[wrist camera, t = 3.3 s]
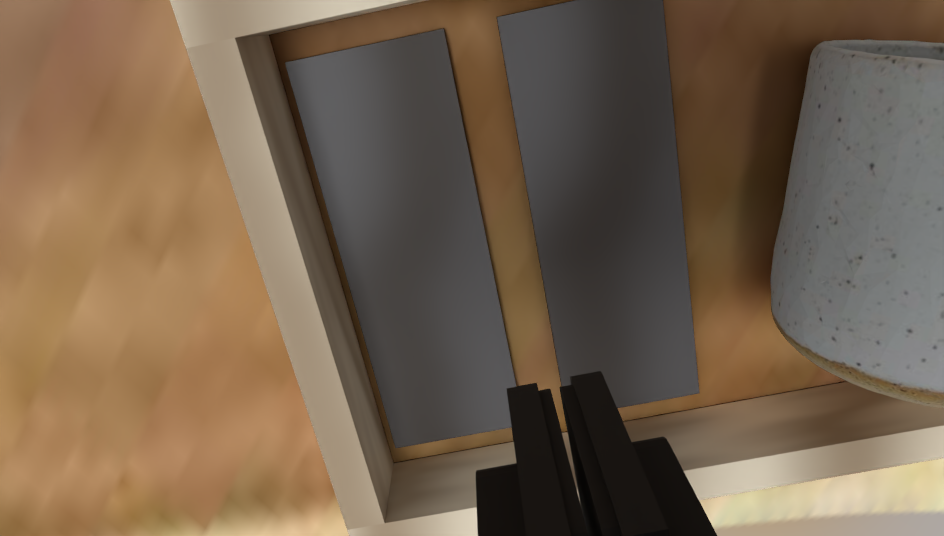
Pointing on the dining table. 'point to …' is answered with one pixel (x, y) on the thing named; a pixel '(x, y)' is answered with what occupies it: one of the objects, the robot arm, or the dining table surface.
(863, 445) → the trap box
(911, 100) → the ceramic mug
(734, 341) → the dining table surface
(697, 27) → the dining table surface
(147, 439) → the dining table surface
